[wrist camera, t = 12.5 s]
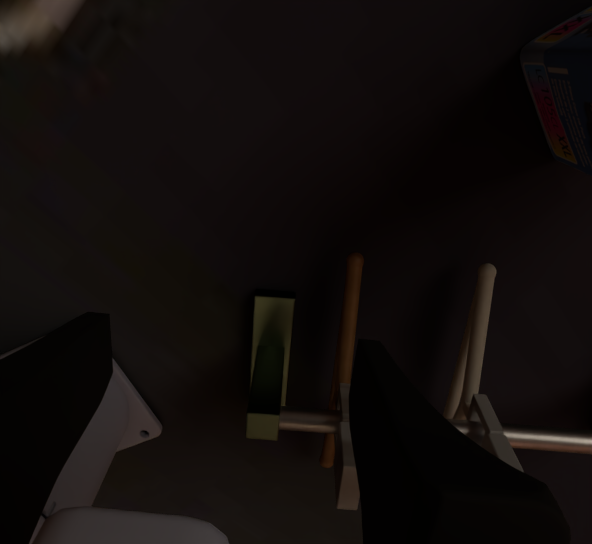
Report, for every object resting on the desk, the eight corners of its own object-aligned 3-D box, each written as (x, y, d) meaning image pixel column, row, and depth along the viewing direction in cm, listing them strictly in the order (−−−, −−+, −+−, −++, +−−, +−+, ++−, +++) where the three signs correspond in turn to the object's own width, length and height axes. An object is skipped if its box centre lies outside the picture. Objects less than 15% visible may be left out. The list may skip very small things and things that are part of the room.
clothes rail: (625, 430, 29) (696, 521, 24) (249, 400, 29) (235, 486, 23) (674, 322, 26) (768, 398, 21) (255, 288, 26) (241, 356, 20)
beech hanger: (332, 460, 29) (340, 599, 22) (318, 459, 29) (322, 597, 22) (364, 250, 24) (388, 344, 17) (346, 248, 24) (363, 342, 17)
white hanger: (439, 469, 29) (481, 609, 22) (425, 467, 29) (462, 608, 22) (495, 261, 24) (574, 359, 17) (477, 259, 24) (549, 357, 17)
